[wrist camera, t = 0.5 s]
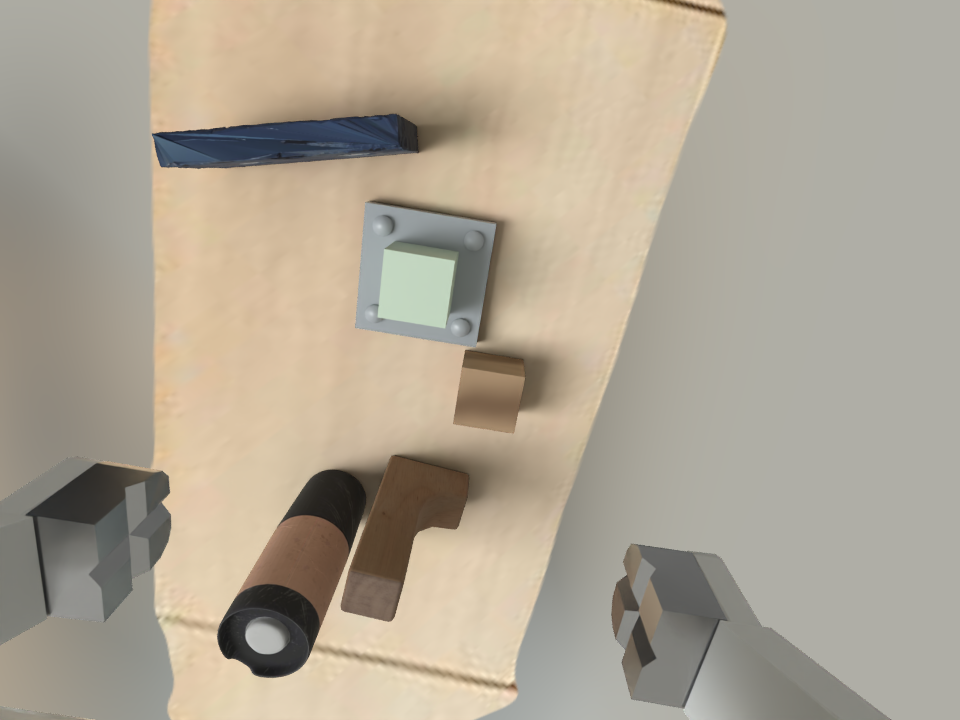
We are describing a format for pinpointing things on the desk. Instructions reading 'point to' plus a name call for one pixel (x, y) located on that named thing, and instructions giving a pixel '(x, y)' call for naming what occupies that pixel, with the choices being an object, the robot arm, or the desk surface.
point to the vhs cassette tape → (287, 142)
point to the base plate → (433, 232)
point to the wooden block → (400, 532)
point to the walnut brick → (489, 392)
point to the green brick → (417, 284)
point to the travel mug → (294, 578)
